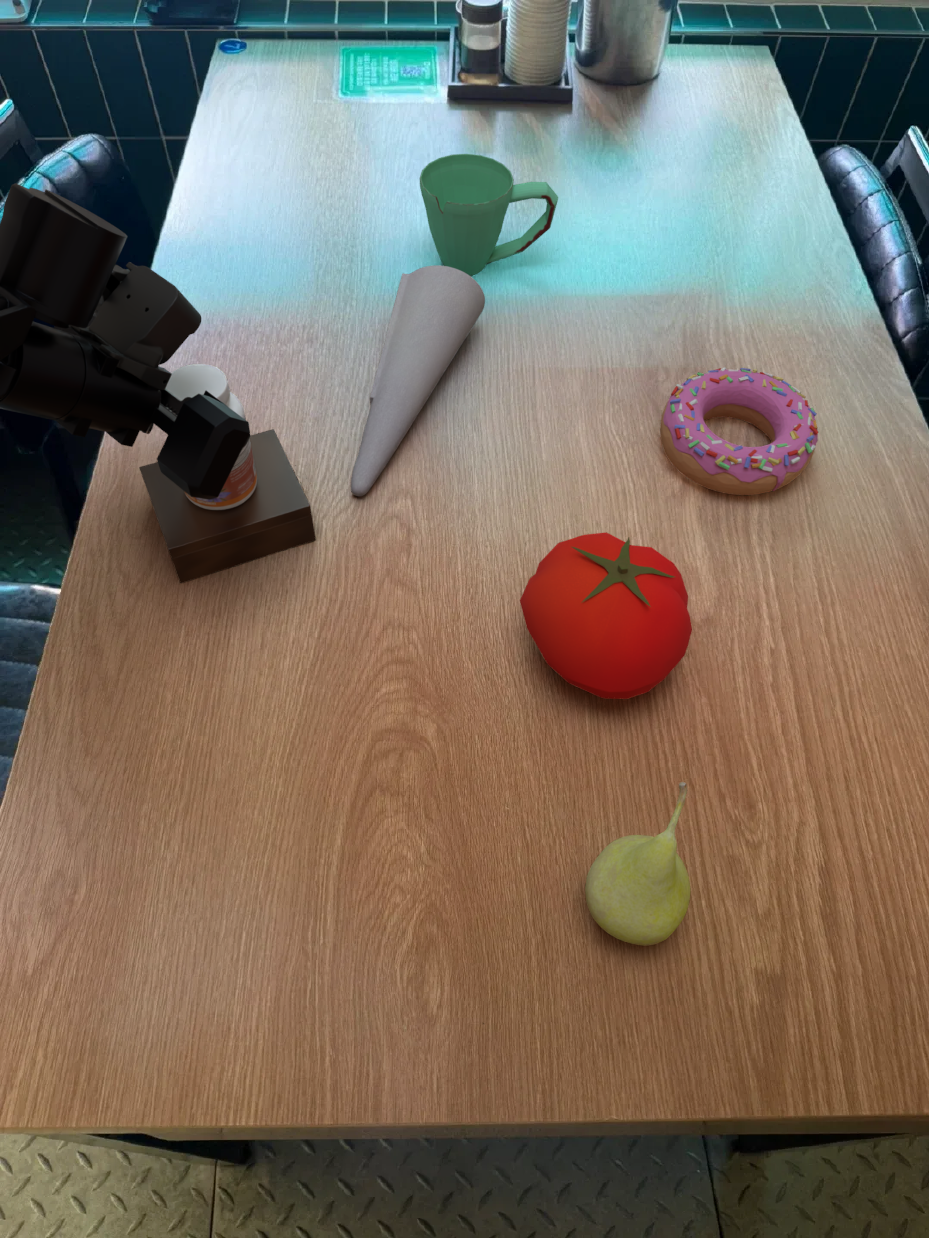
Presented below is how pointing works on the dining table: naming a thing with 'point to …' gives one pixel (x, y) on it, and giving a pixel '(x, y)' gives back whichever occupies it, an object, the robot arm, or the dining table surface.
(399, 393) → the grey tapered cone
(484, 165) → the mug
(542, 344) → the dining table surface
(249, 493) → the pill bottle
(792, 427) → the donut
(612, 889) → the fruit
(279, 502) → the dark wooden box
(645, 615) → the tomato
